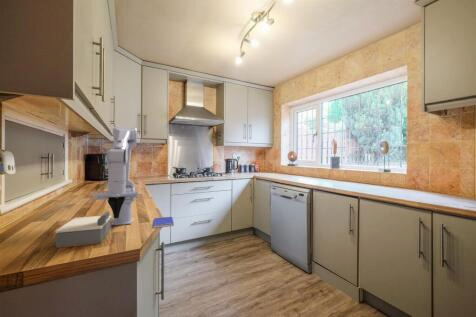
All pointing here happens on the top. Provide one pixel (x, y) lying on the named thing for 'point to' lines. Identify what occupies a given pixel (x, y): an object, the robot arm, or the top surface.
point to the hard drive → (163, 222)
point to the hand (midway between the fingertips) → (116, 217)
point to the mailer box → (82, 236)
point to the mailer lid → (85, 223)
